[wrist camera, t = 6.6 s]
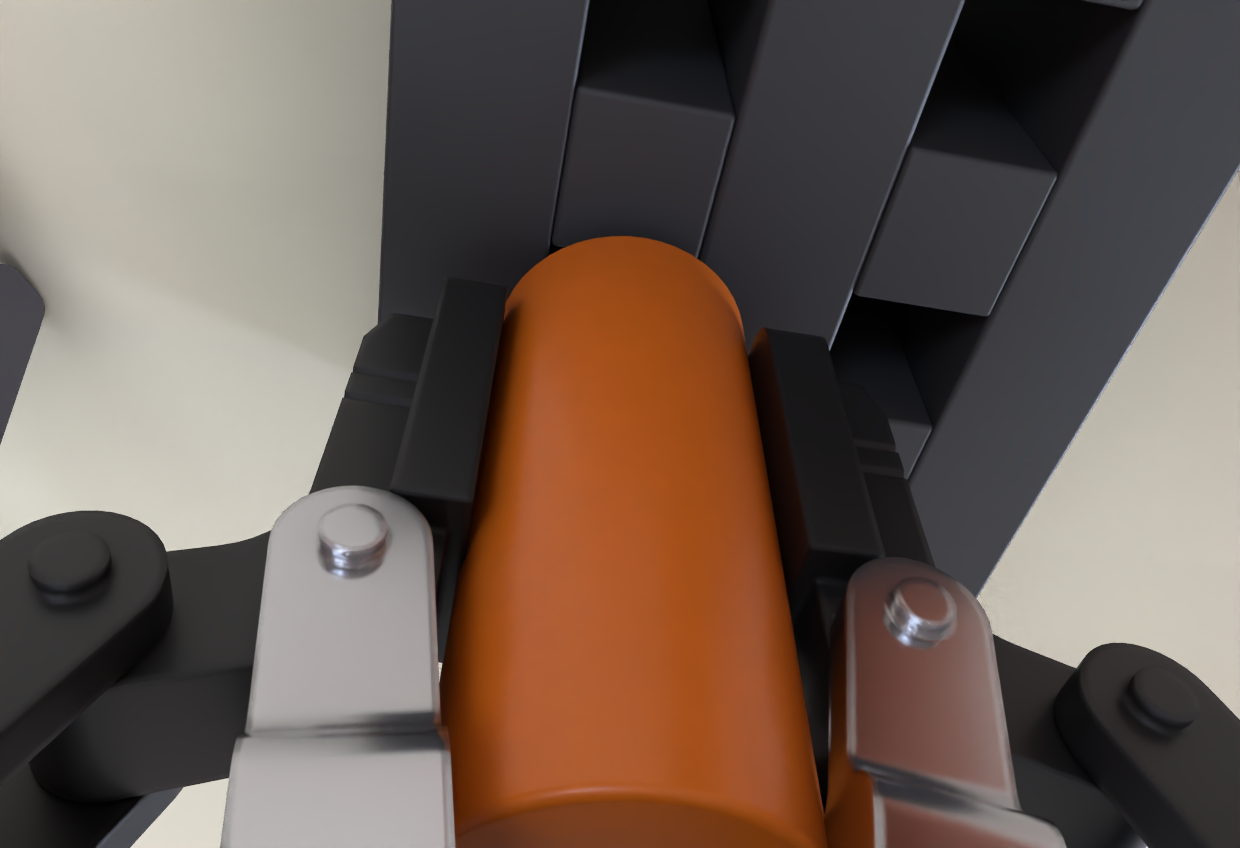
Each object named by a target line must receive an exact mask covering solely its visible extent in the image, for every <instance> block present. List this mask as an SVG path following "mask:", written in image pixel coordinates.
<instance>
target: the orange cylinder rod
mask: <svg viewBox="0 0 1240 848" xmlns="http://www.w3.org/2000/svg"><path fill="white" fill-rule="evenodd" d="M439 692H440V712H441V722H442V725H446V726H447V729H448V735H449V743H450V755H451V773H452V792H453V812H454V832H455V848H827V839H826V832H825V824H824V812H823V806H822V800H821V794H820V788H819V782H818V776H817V770H816V764H815V758H814V752H813V746H812V739H811V733H810V727H809V721H808V715H807V709H806V703H805V697H804V691H803V685H802V679H801V673H800V667H799V661H798V655H797V649H796V643H795V637H794V631H793V625H792V619H791V613H790V607H789V601H788V595H787V589H786V583H785V577H784V571H783V565H782V559H781V553H780V547H779V541H778V535H777V529H776V523H775V517H774V511H773V505H772V499H771V493H770V487H769V481H768V475H767V469H766V463H765V457H764V451H763V445H762V439H761V433H760V427H759V421H758V415H757V409H756V403H755V397H754V391H753V385H752V379H751V373H750V367H749V361H748V355H747V349H746V343H745V337H744V331H743V325H742V320H741V316H740V312H739V309H738V307H737V305H736V302H735V300H734V298H733V296H732V294H731V293H730V291H729V290H728V288H727V286H726V285H725V284H724V283H723V281H722V280H721V279H720V278H719V277H718V275H717V274H716V273H715V272H713V271H712V270H711V269H710V268H709V267H708V266H707V265H706V264H704V263H703V262H701V261H700V260H698V259H697V258H695V257H694V256H693V255H691V254H689V253H687V252H685V251H683V250H681V249H679V248H677V247H675V246H672V245H669V244H667V243H664V242H661V241H657V240H653V239H648V238H643V237H633V236H608V237H600V238H593V239H589V240H585V241H581V242H578V243H575V244H572V245H570V246H567V247H565V248H562V249H560V250H559V251H557V252H555V253H553V254H551V255H549V256H548V257H546V258H545V259H543V260H542V261H541V262H539V263H538V264H536V265H535V266H534V267H533V268H532V269H531V270H530V271H529V272H527V273H526V274H525V275H524V276H523V277H522V279H521V280H520V281H519V282H518V284H517V285H516V286H515V288H514V289H513V291H512V293H511V294H510V296H509V298H508V300H507V302H506V306H505V313H504V321H503V327H502V334H501V340H500V346H499V352H498V358H497V365H496V371H495V377H494V383H493V389H492V396H491V402H490V408H489V414H488V421H487V427H486V433H485V439H484V445H483V452H482V458H481V464H480V470H479V476H478V483H477V489H476V495H475V501H474V507H473V514H472V520H471V526H470V532H469V539H468V545H467V551H466V557H465V559H464V562H463V564H462V566H461V569H460V571H459V573H458V578H457V582H456V587H455V593H454V599H453V605H452V611H451V617H450V622H449V628H448V634H447V640H446V646H445V652H444V658H443V664H442V670H441V676H440V682H439Z"/></svg>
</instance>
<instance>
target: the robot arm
mask: <svg viewBox="0 0 1240 848" xmlns="http://www.w3.org/2000/svg"><path fill="white" fill-rule="evenodd" d="M507 290H508V286H502V285H495V284H489V283H483V282H476V281H470V280H464V279H457V278H451V277H445V278H444V281H443V284H442V288H441V292H440V296H439V300H438V304H437V307H436V311H435V315H434V319H430V318H424V317H417V316H411V315H404V314H397V313H391V314H390V315H389V316H387V317H386V318H385V319H384V320H383V321H381V322H380V323H379V324H378V325H377V326H375V327H374V328H373V329H372V330H371V331H370V332H368V333H367V334H366V335H365V336H364V338H363V340H362V343H361V346H360V349H359V352H358V355H357V358H356V361H355V363H354V366H353V373H352V372H351V375H350V378H349V381H348V384H347V387H346V389H345V395H344V398H342V401H341V404H340V407H339V410H338V413H337V415H336V418H335V421H334V424H333V427H332V430H331V433H330V436H329V439H328V441H327V444H326V447H325V450H324V453H323V456H322V459H321V462H320V465H319V467H318V470H317V473H316V476H315V479H314V482H313V485H312V488H311V490H310V492H309V495H307V496H305V497H302V498H301V499H299V500H298V501H296V502H294V503H293V504H292V505H290V506H289V507H288V508H287V509H286V510H285V511H283V513H282V514H281V515H280V516H279V518H278V519H277V520H276V522H275V524H274V526H273V528H272V530H270V531H268V532H266V533H264V534H261V535H259V536H256V537H254V538H251V539H247V540H244V541H240V542H236V543H231V544H225V545H218V546H210V547H202V548H193V549H185V550H176V551H168V552H166V550H165V547H164V544H163V543H162V541H161V540H160V538H159V537H158V535H157V534H156V533H155V532H154V531H152V530H151V529H150V528H149V527H148V526H146V525H145V524H143V523H141V522H140V521H138V520H135V519H133V518H131V517H128V516H125V515H121V514H117V513H113V512H105V511H76V512H67V513H62V514H57V515H53V516H49V517H46V518H43V519H40V520H37V521H34V522H32V523H30V524H27V525H25V526H23V527H21V528H19V529H17V530H16V531H14V532H12V533H11V534H9V535H7V536H6V537H4V538H3V539H1V540H0V848H130V847H131V846H132V845H133V844H134V843H135V841H136V840H137V839H138V838H139V837H140V836H141V835H142V834H143V833H144V832H145V831H146V829H147V828H148V827H149V826H150V825H151V824H152V823H153V822H154V821H155V820H156V818H157V817H158V816H159V815H160V814H161V813H162V812H163V811H164V810H165V809H166V808H167V806H168V805H169V804H170V803H171V802H172V801H173V800H174V799H175V798H176V796H177V795H178V794H179V792H180V791H181V790H182V789H183V787H186V786H191V785H196V784H201V783H206V782H210V781H215V780H220V779H225V778H229V783H228V791H227V798H226V806H225V814H224V822H223V829H222V837H221V845H220V848H455V832H454V812H453V792H452V773H451V755H450V743H449V735H448V729H447V726H446V725H442V722H441V712H440V692H439V669H438V662H440V663H443V658H444V652H445V646H446V640H447V634H448V628H449V622H450V617H451V611H452V605H453V599H454V593H455V587H456V582H457V578H458V573H459V571H460V569H461V566H462V564H463V562H464V559H465V557H466V551H467V545H468V539H469V532H470V526H471V520H472V514H473V507H474V501H475V495H476V489H477V483H478V476H479V470H480V464H481V458H482V452H483V445H484V439H485V433H486V427H487V421H488V414H489V408H490V402H491V396H492V389H493V383H494V377H495V371H496V365H497V358H498V352H499V346H500V340H501V334H502V327H503V321H504V313H505V306H506V298H507ZM748 361H749V367H750V373H751V379H752V385H753V391H754V397H755V403H756V409H757V415H758V421H759V427H760V433H761V439H762V445H763V451H764V457H765V463H766V469H767V475H768V481H769V487H770V493H771V499H772V505H773V511H774V517H775V523H776V529H777V535H778V541H779V547H780V553H781V559H782V565H783V571H784V577H785V583H786V589H787V595H788V601H789V607H790V613H791V619H792V625H793V631H794V637H795V643H796V649H797V655H798V661H799V667H800V673H801V679H802V685H803V691H804V697H805V703H806V709H807V715H808V721H809V727H810V733H811V739H812V746H813V752H814V758H815V764H816V770H817V776H818V782H819V788H820V794H821V800H822V806H823V812H824V824H825V832H826V839H827V848H1146V847H1147V846H1148V848H1240V720H1239V719H1238V718H1237V717H1236V716H1235V715H1234V714H1233V713H1232V711H1231V710H1230V709H1229V708H1228V707H1227V706H1226V705H1225V704H1224V703H1223V702H1222V701H1221V700H1220V699H1219V698H1218V697H1217V696H1216V695H1215V694H1214V693H1213V692H1212V691H1211V690H1210V689H1209V688H1208V687H1207V686H1206V685H1205V684H1204V683H1203V682H1202V681H1201V680H1200V679H1199V678H1198V677H1197V676H1195V675H1194V674H1193V673H1191V672H1190V671H1189V670H1188V669H1186V668H1185V667H1183V666H1182V665H1180V664H1179V663H1177V662H1176V661H1174V660H1172V659H1170V658H1168V657H1166V656H1165V655H1163V654H1161V653H1158V652H1156V651H1153V650H1151V649H1148V648H1145V647H1142V646H1138V645H1134V644H1127V643H1109V644H1104V645H1101V646H1098V647H1096V648H1094V649H1093V650H1091V651H1090V652H1089V653H1088V654H1087V655H1086V656H1085V658H1084V659H1083V660H1082V662H1081V663H1080V664H1079V666H1078V667H1077V668H1074V667H1071V666H1068V665H1066V664H1063V663H1061V662H1058V661H1056V660H1053V659H1051V658H1048V657H1045V656H1043V655H1040V654H1038V653H1035V652H1033V651H1030V650H1027V649H1025V648H1022V647H1020V646H1017V645H1015V644H1013V643H1010V642H1008V641H1006V640H1004V639H1001V638H1000V637H998V636H996V635H994V634H993V633H992V629H991V625H990V621H989V619H988V617H987V615H986V613H985V611H984V609H983V608H982V606H981V605H980V603H979V602H978V600H977V599H976V598H975V597H974V596H973V595H972V593H971V592H970V591H969V590H968V589H966V588H965V587H964V586H963V585H962V584H961V583H960V582H958V581H957V580H956V579H954V578H953V577H951V576H950V575H948V574H947V573H945V572H943V571H941V570H940V569H938V568H936V567H935V564H934V561H933V558H932V555H931V552H930V549H929V545H928V542H927V539H926V536H925V533H924V530H923V527H922V524H921V521H920V518H919V515H918V511H917V508H916V505H915V502H914V499H913V496H912V493H911V490H910V487H909V484H908V481H907V479H905V478H904V473H905V471H904V468H903V465H902V462H901V459H900V456H899V453H898V452H896V443H895V440H894V437H893V434H892V431H891V428H890V425H889V422H888V419H887V416H886V414H885V413H884V412H883V410H882V409H881V408H880V407H879V406H878V405H877V403H876V402H875V401H874V400H873V399H872V398H871V396H870V395H869V394H868V393H867V392H866V391H865V389H864V388H863V387H862V386H861V385H859V384H852V383H846V382H839V381H838V380H837V377H836V373H835V369H834V366H833V362H832V358H831V355H830V351H829V348H828V344H827V341H826V339H825V338H824V337H822V336H816V335H809V334H803V333H797V332H790V331H784V330H778V329H771V328H765V327H762V328H761V329H760V330H759V331H758V333H757V335H756V337H755V339H754V341H753V344H752V347H751V350H750V353H749V356H748Z"/></svg>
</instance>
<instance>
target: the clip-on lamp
mask: <svg viewBox="0 0 1240 848" xmlns="http://www.w3.org/2000/svg"><path fill="white" fill-rule="evenodd" d="M44 312H45V306H44V303H43V300H42V298H41V297H40V295H39V294H38V292H37V291H36V290H35V289H34V288H33V287H32V286H31V285H30V284H29V283H28V282H27V281H26V280H25V279H24V278H23V276H22V275H21V274H20V273H19V272H18V271H17V270H16V269H15V268H13V267H12V266H11V265H9V264H0V444H1V441H2V438H3V435H4V432H5V429H6V426H7V423H8V420H9V417H10V414H11V411H12V408H13V406H14V403H15V400H16V397H17V394H18V391H19V388H20V385H21V382H22V379H23V376H24V373H25V370H26V367H27V364H28V361H29V359H30V356H31V353H32V350H33V347H34V344H35V341H36V338H37V335H38V332H39V329H40V326H41V323H42V320H43V317H44Z"/></svg>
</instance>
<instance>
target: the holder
mask: <svg viewBox="0 0 1240 848" xmlns="http://www.w3.org/2000/svg"><path fill="white" fill-rule="evenodd" d="M1239 168H1240V0H392V3H391V26H390V50H389V73H388V97H387V120H386V144H385V168H384V191H383V215H382V238H381V262H380V285H379V309H378V324H379V323H380V322H381V321H383V320H384V319H385V318H386V317H387V316H389V315H390V314H391V313H397V314H404V315H411V316H417V317H424V318H430V319H434V315H435V311H436V307H437V304H438V300H439V296H440V292H441V288H442V284H443V281H444V278H445V277H451V278H457V279H464V280H470V281H476V282H483V283H489V284H495V285H502V286H508V290H507V298H506V302H507V300H508V298H509V296H510V294H511V293H512V291H513V289H514V288H515V286H516V285H517V284H518V282H519V281H520V280H521V279H522V277H523V276H524V275H525V274H526V273H527V272H529V271H530V270H531V269H532V268H533V267H534V266H535V265H536V264H538V263H539V262H541V261H542V260H543V259H545V258H546V257H548V256H549V255H551V254H553V253H555V252H557V251H559V250H560V249H562V248H565V247H567V246H570V245H572V244H575V243H578V242H581V241H585V240H589V239H593V238H600V237H608V236H633V237H643V238H648V239H653V240H657V241H661V242H664V243H667V244H669V245H672V246H675V247H677V248H679V249H681V250H683V251H685V252H687V253H689V254H691V255H693V256H694V257H695V258H697V259H698V260H700V261H701V262H703V263H704V264H706V265H707V266H708V267H709V268H710V269H711V270H712V271H713V272H715V273H716V274H717V275H718V277H719V278H720V279H721V280H722V281H723V283H724V284H725V285H726V286H727V288H728V290H729V291H730V293H731V294H732V296H733V298H734V300H735V302H736V305H737V307H738V309H739V312H740V316H741V320H742V325H743V331H744V337H745V343H746V349H747V355H748V356H749V353H750V350H751V347H752V344H753V341H754V339H755V337H756V335H757V333H758V331H759V330H760V329H761V328H762V327H765V328H771V329H778V330H784V331H790V332H797V333H803V334H809V335H816V336H822V337H824V338H825V339H826V341H827V344H828V348H829V351H830V355H831V358H832V362H833V366H834V369H835V373H836V377H837V380H838V381H839V382H846V383H852V384H859V385H861V386H862V387H863V388H864V389H865V391H866V392H867V393H868V394H869V395H870V396H871V398H872V399H873V400H874V401H875V402H876V403H877V405H878V406H879V407H880V408H881V409H882V410H883V412H884V413H885V414H886V416H887V419H888V422H889V425H890V428H891V431H892V434H893V437H894V440H895V443H896V452H898V453H899V456H900V459H901V462H902V465H903V468H904V471H905V473H904V478H905V479H907V481H908V484H909V487H910V490H911V493H912V496H913V499H914V502H915V505H916V508H917V511H918V515H919V518H920V521H921V524H922V527H923V530H924V533H925V536H926V539H927V542H928V545H929V549H930V552H931V555H932V558H933V561H934V564H935V567H936V568H938V569H940V570H941V571H943V572H945V573H947V574H948V575H950V576H951V577H953V578H954V579H956V580H957V581H958V582H960V583H961V584H962V585H963V586H964V587H965V588H966V589H968V590H969V591H970V592H971V593H972V595H973V596H974V597H975V598H977V597H978V595H979V593H980V592H981V590H982V589H983V587H984V585H985V584H986V582H987V580H988V579H989V577H990V576H991V574H992V572H993V571H994V569H995V567H996V566H997V564H998V562H999V561H1000V559H1001V558H1002V556H1003V554H1004V553H1005V551H1006V549H1007V548H1008V546H1009V544H1010V543H1011V541H1012V540H1013V538H1014V536H1015V535H1016V533H1017V531H1018V530H1019V528H1020V526H1021V525H1022V523H1023V522H1024V520H1025V518H1026V517H1027V515H1028V513H1029V512H1030V510H1031V508H1032V507H1033V505H1034V504H1035V502H1036V500H1037V499H1038V497H1039V495H1040V494H1041V492H1042V490H1043V489H1044V487H1045V486H1046V484H1047V482H1048V481H1049V479H1050V477H1051V476H1052V474H1053V473H1054V471H1055V469H1056V468H1057V466H1058V464H1059V463H1060V461H1061V459H1062V458H1063V456H1064V455H1065V453H1066V451H1067V450H1068V448H1069V446H1070V445H1071V443H1072V441H1073V440H1074V438H1075V437H1076V435H1077V433H1078V432H1079V430H1080V428H1081V427H1082V425H1083V423H1084V422H1085V420H1086V419H1087V417H1088V415H1089V414H1090V412H1091V410H1092V409H1093V407H1094V405H1095V404H1096V402H1097V401H1098V399H1099V397H1100V396H1101V394H1102V392H1103V391H1104V389H1105V388H1106V386H1107V384H1108V383H1109V381H1110V379H1111V378H1112V376H1113V374H1114V373H1115V371H1116V370H1117V368H1118V366H1119V365H1120V363H1121V361H1122V360H1123V358H1124V356H1125V355H1126V353H1127V352H1128V350H1129V348H1130V347H1131V345H1132V343H1133V342H1134V340H1135V338H1136V337H1137V335H1138V334H1139V332H1140V330H1141V329H1142V327H1143V325H1144V324H1145V322H1146V320H1147V319H1148V317H1149V316H1150V314H1151V312H1152V311H1153V309H1154V307H1155V306H1156V304H1157V302H1158V301H1159V299H1160V298H1161V296H1162V294H1163V293H1164V291H1165V289H1166V288H1167V286H1168V285H1169V283H1170V281H1171V280H1172V278H1173V276H1174V275H1175V273H1176V271H1177V270H1178V268H1179V267H1180V265H1181V263H1182V262H1183V260H1184V258H1185V257H1186V255H1187V253H1188V252H1189V250H1190V249H1191V247H1192V245H1193V244H1194V242H1195V240H1196V239H1197V237H1198V235H1199V234H1200V232H1201V231H1202V229H1203V227H1204V226H1205V224H1206V222H1207V221H1208V219H1209V217H1210V216H1211V214H1212V213H1213V211H1214V209H1215V208H1216V206H1217V204H1218V203H1219V201H1220V200H1221V198H1222V196H1223V195H1224V193H1225V191H1226V190H1227V188H1228V186H1229V185H1230V183H1231V182H1232V180H1233V178H1234V177H1235V175H1236V173H1237V172H1238V170H1239Z"/></svg>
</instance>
